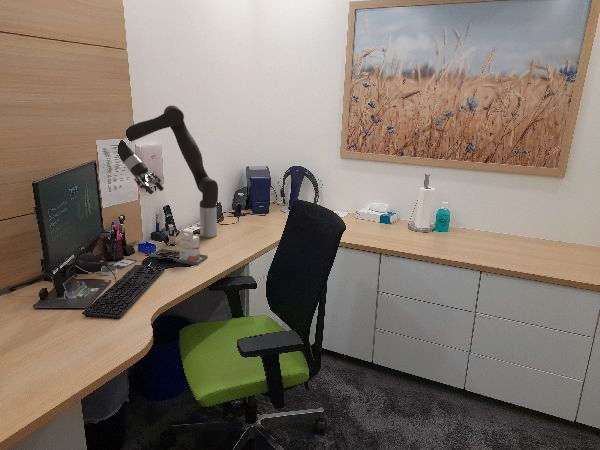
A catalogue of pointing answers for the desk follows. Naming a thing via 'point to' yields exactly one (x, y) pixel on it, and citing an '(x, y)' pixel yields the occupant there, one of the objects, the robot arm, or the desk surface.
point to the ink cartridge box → (189, 246)
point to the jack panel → (202, 257)
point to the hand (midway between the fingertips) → (157, 191)
